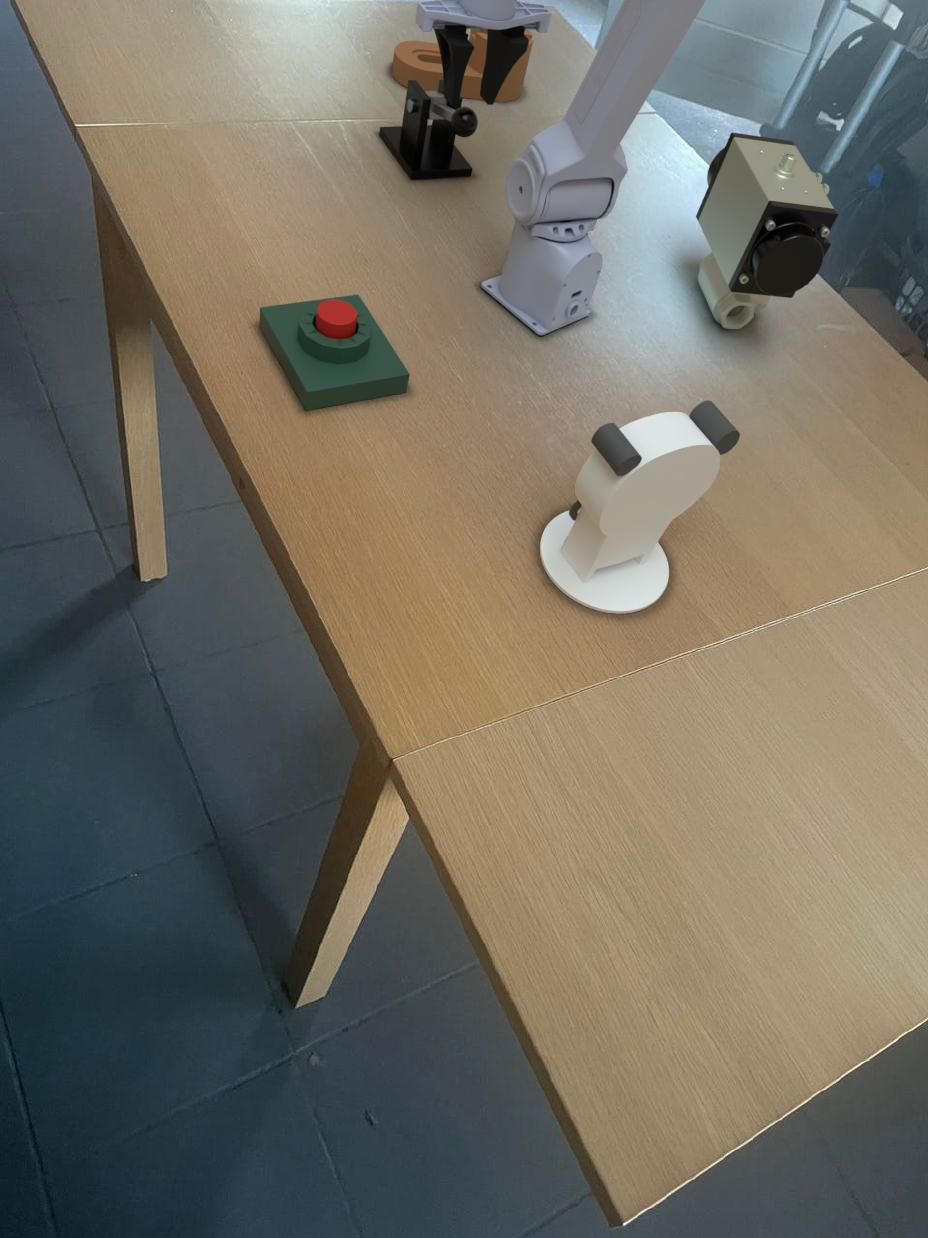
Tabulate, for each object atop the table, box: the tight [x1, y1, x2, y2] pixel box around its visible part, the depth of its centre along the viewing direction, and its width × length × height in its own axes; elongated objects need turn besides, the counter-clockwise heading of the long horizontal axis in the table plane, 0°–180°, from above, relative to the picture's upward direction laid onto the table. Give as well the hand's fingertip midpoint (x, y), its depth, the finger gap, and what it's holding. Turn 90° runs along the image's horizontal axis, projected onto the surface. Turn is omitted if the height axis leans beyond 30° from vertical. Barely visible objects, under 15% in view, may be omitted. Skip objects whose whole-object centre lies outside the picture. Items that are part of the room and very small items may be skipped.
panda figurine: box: [539, 399, 741, 615], centre depth 73 cm, size 12×11×15 cm
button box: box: [259, 294, 410, 411], centre depth 85 cm, size 12×10×4 cm
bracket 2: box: [378, 80, 474, 181], centre depth 109 cm, size 10×8×8 cm
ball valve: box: [695, 132, 839, 330], centre depth 98 cm, size 18×8×18 cm, turn 7°
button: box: [316, 300, 357, 340], centre depth 83 cm, size 4×4×2 cm
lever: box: [425, 91, 479, 138], centre depth 105 cm, size 11×3×3 cm, turn 26°
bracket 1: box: [391, 29, 534, 103], centre depth 122 cm, size 18×8×7 cm, turn 101°
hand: (468, 100), depth 100 cm, fingers open, 4 cm apart
